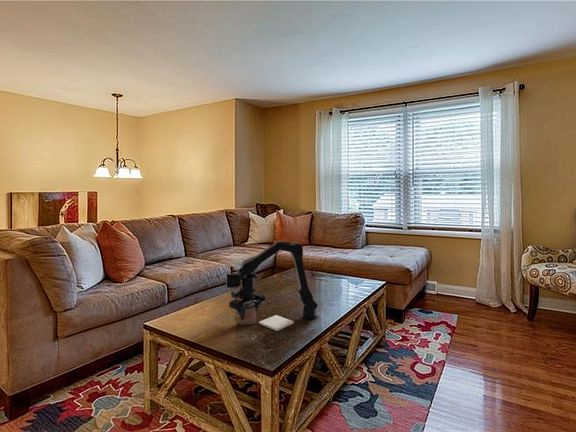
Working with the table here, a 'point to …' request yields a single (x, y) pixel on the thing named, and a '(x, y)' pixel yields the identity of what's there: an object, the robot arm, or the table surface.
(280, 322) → the coaster
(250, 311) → the lighter
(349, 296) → the table surface
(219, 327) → the table surface
